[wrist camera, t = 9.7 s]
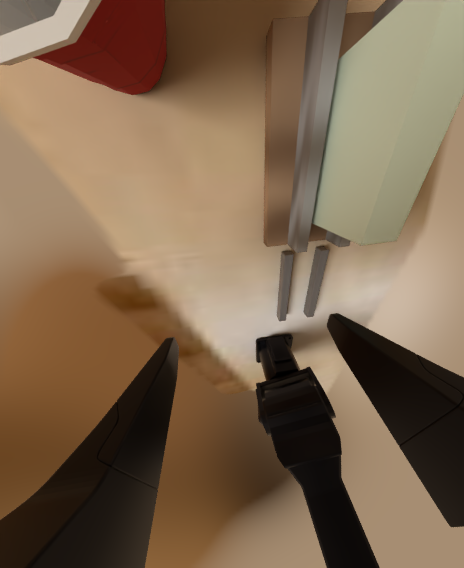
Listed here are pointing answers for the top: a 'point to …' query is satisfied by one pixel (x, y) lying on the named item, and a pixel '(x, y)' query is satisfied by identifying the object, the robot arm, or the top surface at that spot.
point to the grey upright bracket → (314, 282)
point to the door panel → (389, 119)
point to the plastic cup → (89, 39)
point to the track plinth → (303, 114)
